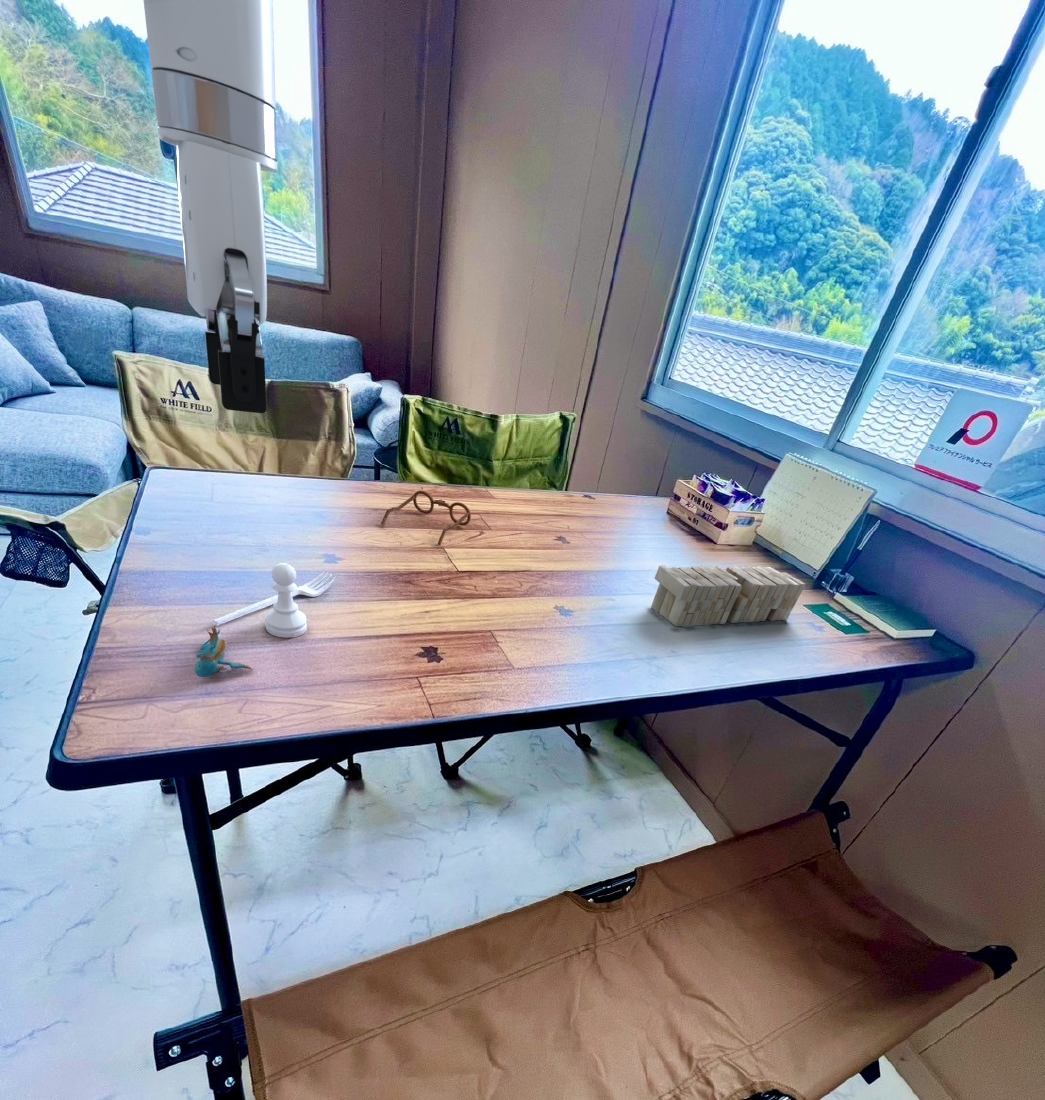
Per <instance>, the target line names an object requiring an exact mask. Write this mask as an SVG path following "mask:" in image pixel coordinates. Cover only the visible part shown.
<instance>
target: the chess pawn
mask: <svg viewBox="0 0 1045 1100" xmlns="http://www.w3.org/2000/svg"><path fill="white" fill-rule="evenodd" d="M271 578H272V579H273V581H274V583H273V584H272V586H271V588H272V589H273V590H275V592H277V595H278V601H277V602H276V603H275V604H272V605H273V606H272V608H273V609H272V610H270V611H269V612H267V614H266V615H265V618H264V619H265V629H266V631H267V632H268V633H269V634H270V635H272V636H273V637H277V638H281V639H282V638H283V639H291V638H296V637H300V636H302V635H303V634H305V633H306V632H307V630H308V619H307V618H308V617H307V616H306V614H305V613H303V612H302V611H300V610H299V605H298V604H297V603H296V602H295V601H294V597H292V592H293V591H295V590H296V589H297V587H298V586H297V584H296V583H295V582H296V580H297V570H296V569H295V567H293V565H291V564H290V563H285V562H281V563H278V564H276V565H274V566H273V568H272V571H271Z"/></svg>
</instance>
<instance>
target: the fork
mask: <svg viewBox="0 0 1045 1100" xmlns="http://www.w3.org/2000/svg"><path fill="white" fill-rule="evenodd" d="M325 572H326V569H325V570H323V571H322V572H321V573H320V574H318V575H317V576H316V577H314V578H313V579H311V580H310V581H308V582H307V583H305V584H303V585H301V586H297V589H296V590H295V591H293V592H292V598H294V597H296V596H298V595H303V596H307V597H312V598H315V597H319V596H320V595H322V594H323V593H325V591H326V590H327V589H328V588H329V587H330V586H331V585H332V584H333V582H334V581H335V579H336V578H337V575H336V574H335V575H334V576H333V573H329V572H330V571H327V572H326V573H325ZM332 576H333V577H332ZM277 601H278V594H276V595H273V596H271V597H268V598H265V599H263V600H261V601H258V602H255V603H253V604H251V605H248V606H245V607H242V608H240V609H238V610H236V611H235V610H234V611H233V612H230V613H228V614H224V615H222V616H220V617H218V618H215V619H213V620H212V625H213V626H215V627H217V626H219V625H222V624H225V623H227V622H228V623H229V622H230V621H233V620H235V619H238V618H240V617H244V616H245V615H248V614H251V613H254V612H256V611H259V610H262V609H264V608H267V607H269V606H272V605H274V604H275V603H276V602H277Z"/></svg>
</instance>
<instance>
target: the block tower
mask: <svg viewBox="0 0 1045 1100" xmlns="http://www.w3.org/2000/svg"><path fill="white" fill-rule="evenodd" d="M654 580H656V582H658V583H659V584H658V587H657V589H656V591H655V594H654V597H653V599H652V603H651V606H650V608H651V609H652V610H654V611H655V612H656V613H657V614H660V615H661V616H662V617H663V618H664V619H665V620H668V622H670V623H672V625H674V626H676V627H680V626H681V627H684V628H685V627H693V626H706V625H709V626H710V625H717V624H718V625H725V624H726V623H727V621H728V622H729V623H731V624H736V623H754V622H755V623H758V622H765V621H766V620H769V621H771V622H776V621H788V619H789V617H790V615H791V613H792V611H793V609H794V608H795V606H796V603H797V602H798V600H799V598H800V596H801V594H802V592H803V590H804V589H805V588H806V587H805V586H806V583H805V582H803V581H801V580H800V579H798V578H797V577H796V578H795V577H794V576H792V575H791V574H789V573H788V572H786V571H785V572H784V571H783V572H780V571H778V570H776V569H775V568H774V567H772V566H744V567H743V566H726V569H724V568H723V567H721V566H690V567H688V566H687V567H686V566H685V567H683V566H682V567H679V566H678V567H676V566H675V567H673V566H672V567H668V566H666V565H658V567H657V570H656V572H655V576H654Z"/></svg>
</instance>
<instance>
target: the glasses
mask: <svg viewBox="0 0 1045 1100" xmlns="http://www.w3.org/2000/svg"><path fill="white" fill-rule="evenodd" d="M418 495H424V496H426V497H427V498H428V500H429V502H430V507H429V509H428V510H425V509H423V508H421V507H420V506H419V505H418V501H417V497H418ZM411 502H412V503H413V505H414V507H415V509H417V511H418V512H419V513H421V514H425V515H427V514H431V513H433V510H434V508H435V507H434V506H435V505H439V506H442V507H445V508H447V509H448V510H449V516H450V519H451V521H452V522H453V524H452V525H448V526H446V527H445V528H443V529H442V532H441V534H440V537H439V539H438V541H437V544H438V546H441V545H442V543H443V540H444V538H445V536H446V533H447V532H448V531H450V530H453V529H455V528H457V527H458V526H463V527H465V526H467V525H469V523H470V521H471V517H472V514H471V511H470V509H469V507H468V506H467V505H466V504H465V503H462V502H459V501H456V502H453V503H451V504H448V503H447V502H444V501H441V500H435V499H434V498H433V496H432V495H430V493H428V492H427V491H425V490H417V491H415V493H414V494H413V495H411V496H410V497H409V498H407V499H406V500H405V501H403V502H402V503H401V504H399V505H398V506H393V507H391V508H388V509H386V511H385V514H384V515H383V517H382V519H381V522H380V525H381V526H382V527H384V526H385V524H386V521H387V520H388V517H389V515H390V513H391V512H394V511H401V510H402V509H403V508H405V507H406V506H407V505H408V504H410V503H411ZM457 506H458V507H461V508H463V510H465V512H466V513H465V514H463V515H462V516H461V517H460V518H459V519H458V520H457V519H456V518H455V516H454V513H453V509H454V507H457ZM464 520H466V521H464Z"/></svg>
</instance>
